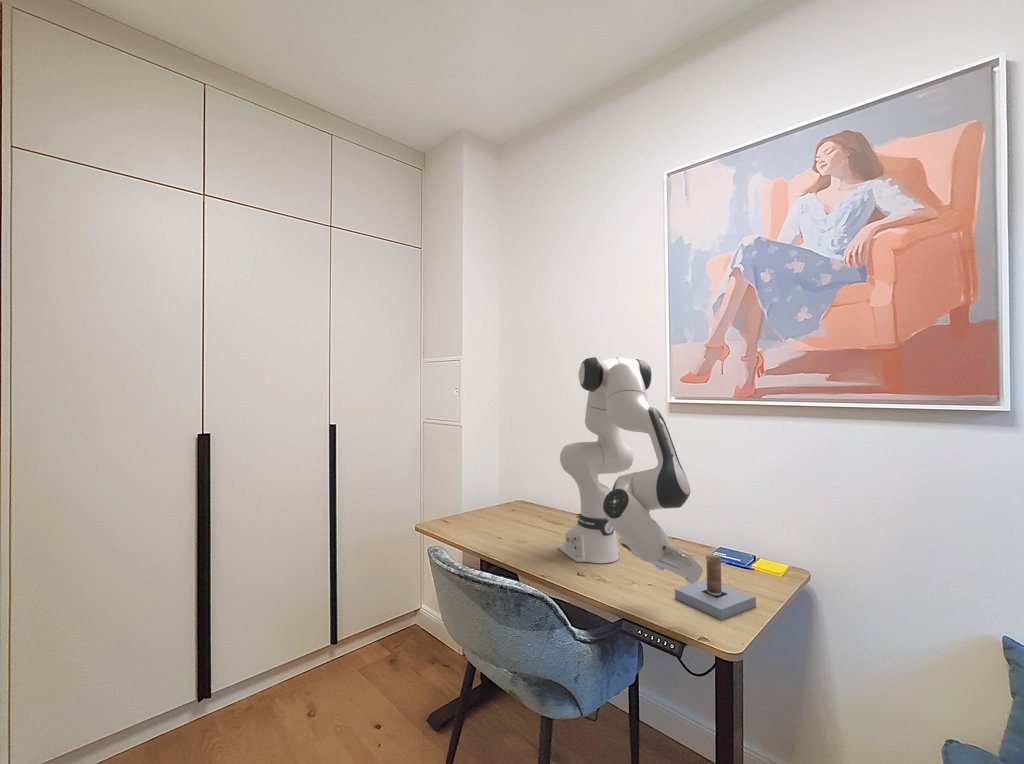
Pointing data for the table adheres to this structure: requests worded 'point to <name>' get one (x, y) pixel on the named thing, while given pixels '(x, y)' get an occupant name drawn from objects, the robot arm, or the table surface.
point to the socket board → (715, 599)
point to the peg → (714, 575)
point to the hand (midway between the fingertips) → (676, 573)
